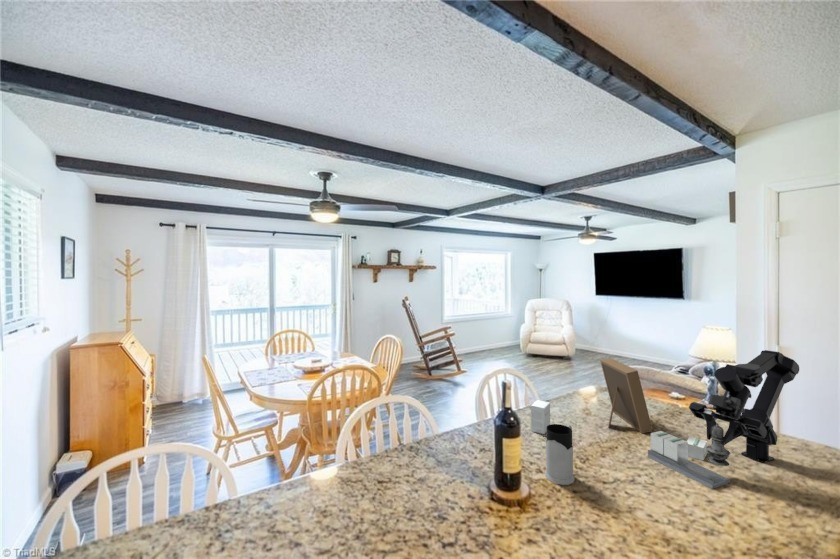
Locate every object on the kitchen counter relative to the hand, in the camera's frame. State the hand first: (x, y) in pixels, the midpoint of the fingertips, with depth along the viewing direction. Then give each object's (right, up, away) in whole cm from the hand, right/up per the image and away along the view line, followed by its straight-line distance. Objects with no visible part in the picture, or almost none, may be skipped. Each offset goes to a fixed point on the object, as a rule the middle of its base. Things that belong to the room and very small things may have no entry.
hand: (715, 441), depth 113 cm
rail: (-6, -11, +5) cm, 13 cm away
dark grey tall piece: (+1, -7, +1) cm, 7 cm away
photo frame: (-7, -11, +41) cm, 43 cm away
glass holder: (-46, -12, +3) cm, 48 cm away
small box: (-42, -11, +36) cm, 56 cm away
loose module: (+5, -11, +14) cm, 18 cm away
